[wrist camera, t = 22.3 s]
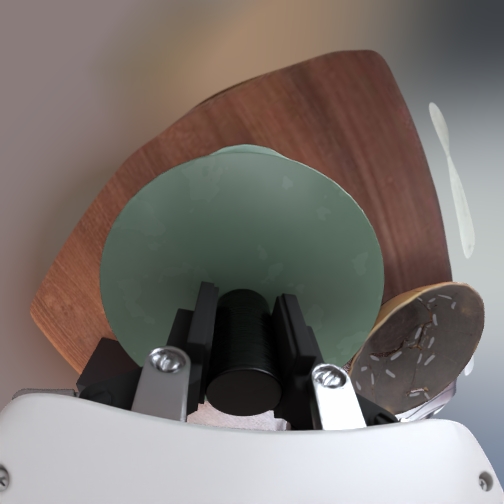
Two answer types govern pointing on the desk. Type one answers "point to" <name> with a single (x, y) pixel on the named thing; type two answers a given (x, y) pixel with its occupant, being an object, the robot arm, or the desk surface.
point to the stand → (106, 364)
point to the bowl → (418, 345)
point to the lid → (242, 267)
